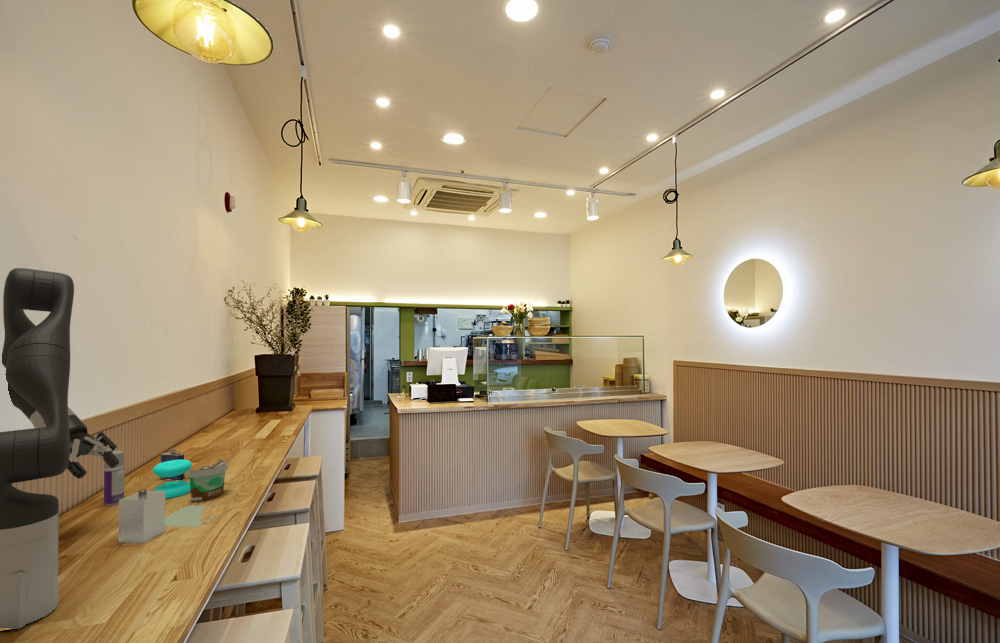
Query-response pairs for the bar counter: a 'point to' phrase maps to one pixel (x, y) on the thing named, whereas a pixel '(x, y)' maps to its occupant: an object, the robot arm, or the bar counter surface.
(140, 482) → the bar counter surface
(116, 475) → the container
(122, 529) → the steel cover
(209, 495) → the food container
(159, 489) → the donuts
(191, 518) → the rubber mat
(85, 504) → the bar counter surface
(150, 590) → the bar counter surface
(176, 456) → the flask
